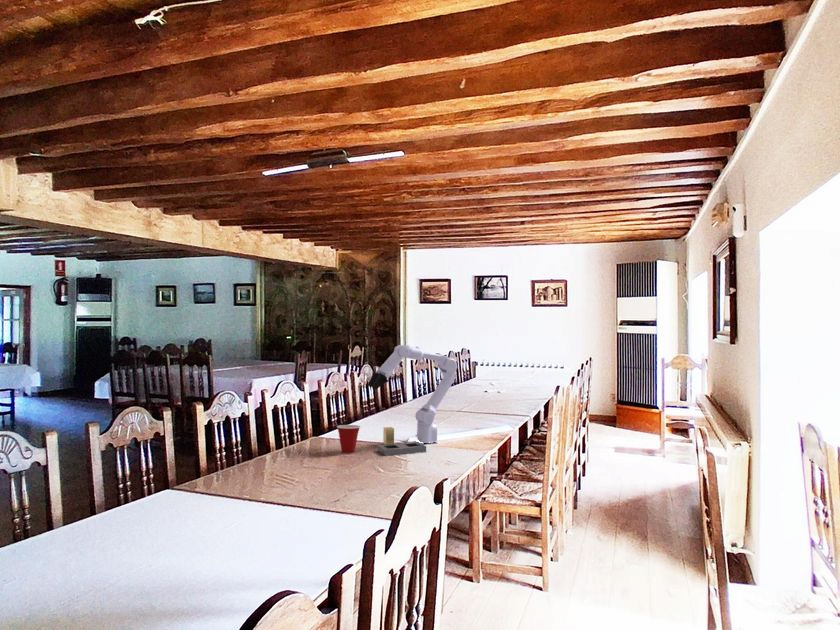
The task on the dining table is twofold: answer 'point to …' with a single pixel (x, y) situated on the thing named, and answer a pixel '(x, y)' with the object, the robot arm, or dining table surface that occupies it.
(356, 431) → the plastic cup
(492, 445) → the dining table surface
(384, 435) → the wooden peg
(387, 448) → the steel frame
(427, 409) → the robot arm
